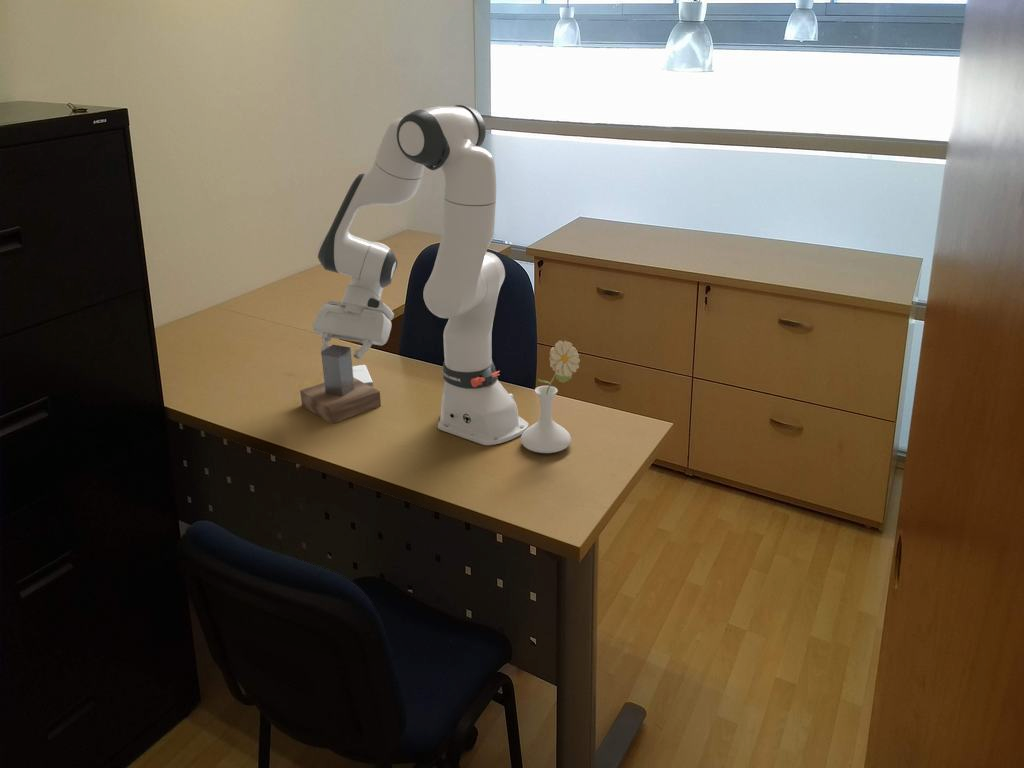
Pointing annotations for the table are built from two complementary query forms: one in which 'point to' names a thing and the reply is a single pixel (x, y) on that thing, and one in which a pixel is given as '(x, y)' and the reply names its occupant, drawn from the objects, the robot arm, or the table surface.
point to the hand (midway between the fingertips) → (341, 355)
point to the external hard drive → (362, 374)
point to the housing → (337, 370)
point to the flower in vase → (546, 431)
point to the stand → (340, 401)
